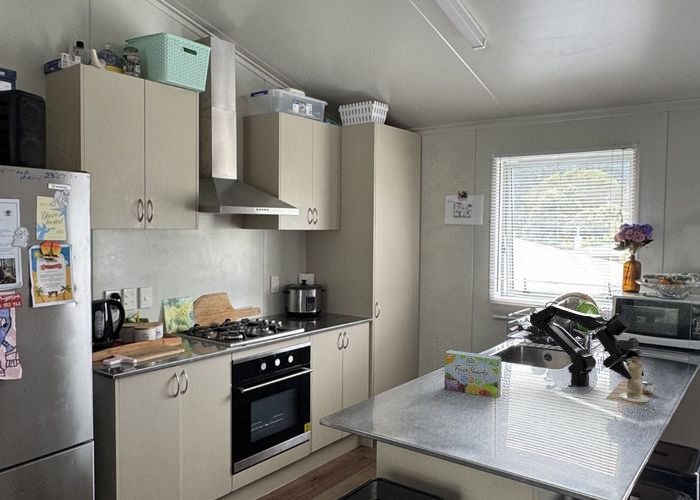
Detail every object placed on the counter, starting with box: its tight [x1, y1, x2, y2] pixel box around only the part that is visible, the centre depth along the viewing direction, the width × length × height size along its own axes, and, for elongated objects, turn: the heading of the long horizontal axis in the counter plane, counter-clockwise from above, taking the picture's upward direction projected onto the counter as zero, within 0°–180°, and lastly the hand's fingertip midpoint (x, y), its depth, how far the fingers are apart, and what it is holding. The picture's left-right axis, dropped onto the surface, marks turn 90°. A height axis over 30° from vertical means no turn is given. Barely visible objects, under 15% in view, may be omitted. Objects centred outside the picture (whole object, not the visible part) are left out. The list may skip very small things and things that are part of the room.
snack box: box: [443, 349, 502, 399], centre depth 225 cm, size 21×6×15 cm, turn 62°
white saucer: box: [619, 393, 650, 403], centre depth 218 cm, size 10×10×1 cm
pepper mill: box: [626, 357, 643, 399], centre depth 217 cm, size 5×5×15 cm
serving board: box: [605, 380, 657, 407], centre depth 226 cm, size 34×13×1 cm, turn 145°
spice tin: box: [641, 380, 655, 396], centre depth 225 cm, size 4×4×4 cm
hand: (637, 377), depth 217 cm, fingers open, 9 cm apart
